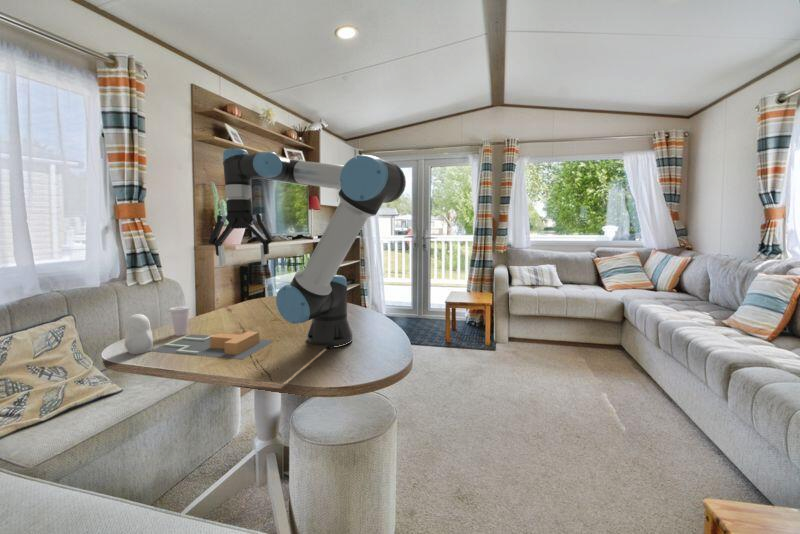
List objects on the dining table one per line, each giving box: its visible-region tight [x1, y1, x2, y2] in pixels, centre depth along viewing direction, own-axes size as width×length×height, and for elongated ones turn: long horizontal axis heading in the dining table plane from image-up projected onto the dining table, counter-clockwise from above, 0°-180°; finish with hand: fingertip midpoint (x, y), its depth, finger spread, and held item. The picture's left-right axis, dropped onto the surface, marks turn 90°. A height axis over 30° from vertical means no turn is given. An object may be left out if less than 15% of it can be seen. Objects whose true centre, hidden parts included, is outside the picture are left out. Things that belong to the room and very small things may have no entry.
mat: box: [147, 333, 276, 360], centre depth 121 cm, size 32×18×1 cm, turn 79°
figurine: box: [124, 313, 154, 355], centre depth 118 cm, size 7×8×12 cm
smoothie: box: [168, 295, 191, 337], centre depth 135 cm, size 6×6×14 cm
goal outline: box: [163, 334, 214, 354], centre depth 123 cm, size 15×16×1 cm
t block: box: [210, 330, 260, 355], centre depth 120 cm, size 12×12×4 cm
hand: (243, 265), depth 124 cm, fingers open, 13 cm apart
